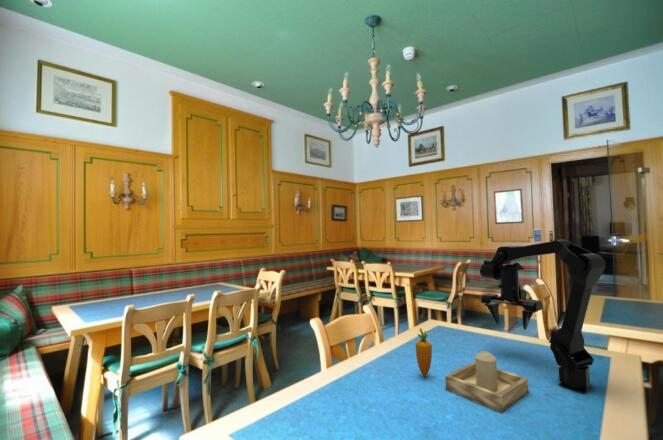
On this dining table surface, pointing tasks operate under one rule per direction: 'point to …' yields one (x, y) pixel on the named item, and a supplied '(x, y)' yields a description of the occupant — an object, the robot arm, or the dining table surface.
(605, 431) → the dining table surface
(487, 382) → the candle
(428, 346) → the carrot
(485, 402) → the box
